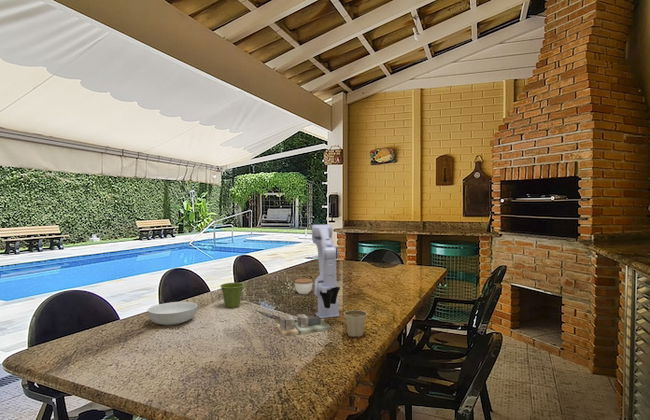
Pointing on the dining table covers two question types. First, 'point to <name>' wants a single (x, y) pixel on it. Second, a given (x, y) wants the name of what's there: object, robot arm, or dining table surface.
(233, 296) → the plant pot
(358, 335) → the flower pot
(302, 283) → the lidded jar
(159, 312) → the serving bowl
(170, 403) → the dining table surface
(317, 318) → the charcoal brick
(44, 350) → the dining table surface
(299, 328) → the base
